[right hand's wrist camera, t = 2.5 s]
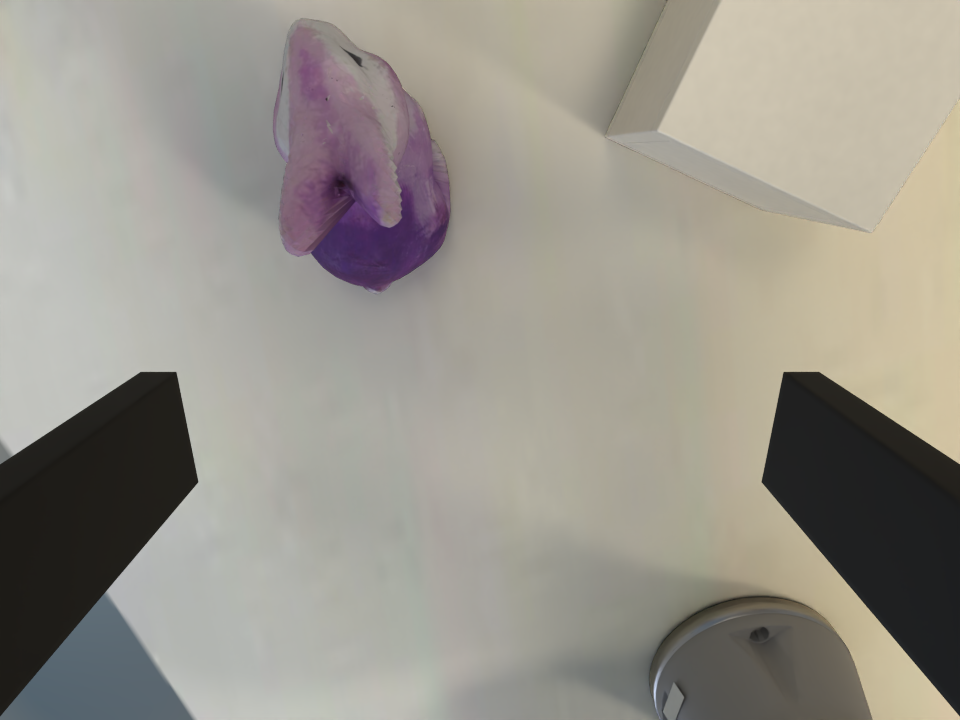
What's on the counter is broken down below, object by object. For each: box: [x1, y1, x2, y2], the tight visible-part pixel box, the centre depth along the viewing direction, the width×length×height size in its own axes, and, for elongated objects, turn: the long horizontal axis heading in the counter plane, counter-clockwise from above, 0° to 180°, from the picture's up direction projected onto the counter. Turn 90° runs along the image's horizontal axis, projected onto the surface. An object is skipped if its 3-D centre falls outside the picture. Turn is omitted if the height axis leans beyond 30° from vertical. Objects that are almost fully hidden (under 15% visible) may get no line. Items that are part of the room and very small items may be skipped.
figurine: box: [273, 18, 450, 294], centre depth 25 cm, size 9×10×15 cm
